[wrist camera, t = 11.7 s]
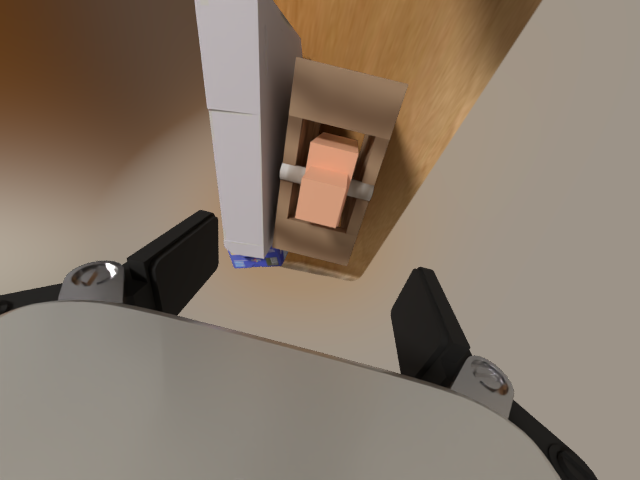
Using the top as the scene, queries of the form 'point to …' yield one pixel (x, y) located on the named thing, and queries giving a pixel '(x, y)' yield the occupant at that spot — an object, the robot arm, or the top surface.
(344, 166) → the salmon stepped block
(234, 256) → the ink cartridge box
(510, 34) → the top surface
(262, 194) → the game console
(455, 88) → the top surface
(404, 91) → the wooden rack
